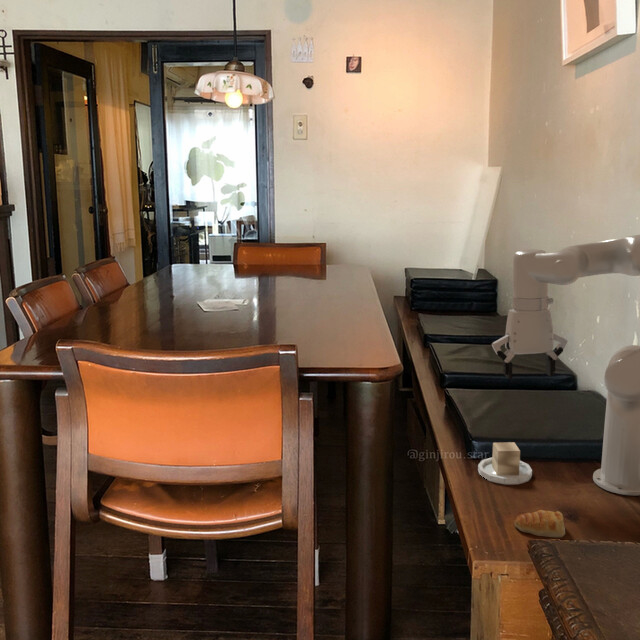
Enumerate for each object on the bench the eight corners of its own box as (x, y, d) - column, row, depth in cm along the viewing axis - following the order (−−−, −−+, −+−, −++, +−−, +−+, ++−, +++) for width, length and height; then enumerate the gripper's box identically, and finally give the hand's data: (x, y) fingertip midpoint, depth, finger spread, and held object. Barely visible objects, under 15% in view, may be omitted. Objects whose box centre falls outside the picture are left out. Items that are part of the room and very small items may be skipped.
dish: (523, 462, 167) (523, 456, 167) (538, 484, 155) (538, 478, 155) (473, 462, 167) (473, 457, 167) (484, 484, 156) (484, 479, 155)
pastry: (517, 537, 134) (517, 519, 133) (512, 520, 141) (512, 502, 140) (567, 539, 133) (568, 521, 132) (559, 522, 139) (561, 505, 139)
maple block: (513, 466, 164) (514, 442, 162) (518, 475, 159) (520, 450, 157) (491, 466, 164) (492, 442, 162) (497, 475, 159) (498, 451, 158)
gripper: (560, 299, 161) (559, 370, 165) (487, 303, 161) (487, 374, 164) (574, 305, 154) (572, 378, 157) (497, 309, 153) (497, 383, 157)
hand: (529, 376), depth 161 cm, fingers open, 9 cm apart
